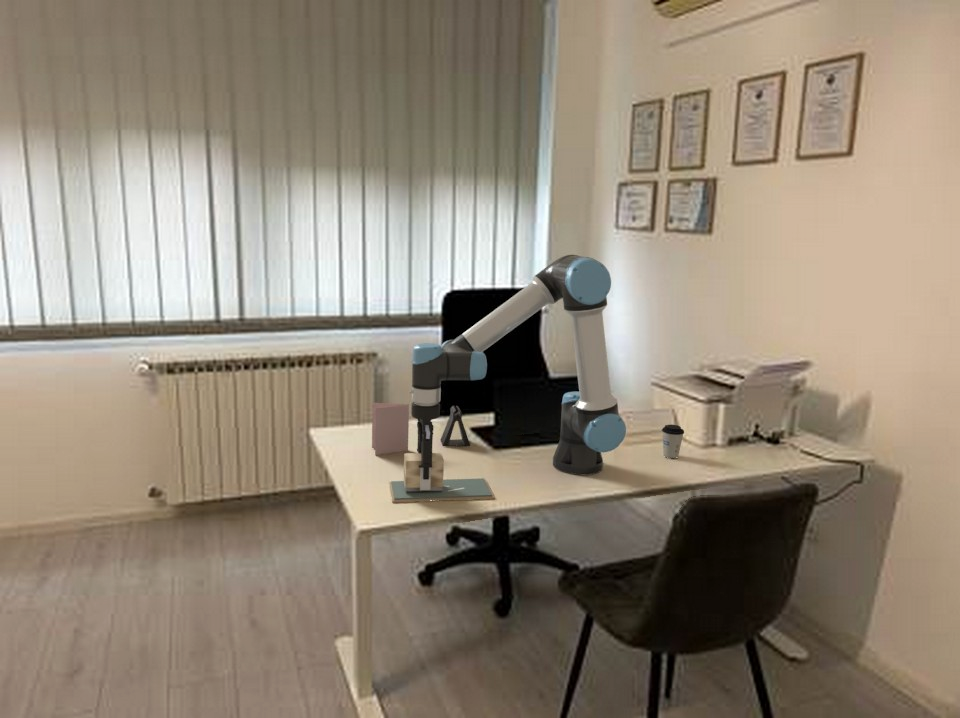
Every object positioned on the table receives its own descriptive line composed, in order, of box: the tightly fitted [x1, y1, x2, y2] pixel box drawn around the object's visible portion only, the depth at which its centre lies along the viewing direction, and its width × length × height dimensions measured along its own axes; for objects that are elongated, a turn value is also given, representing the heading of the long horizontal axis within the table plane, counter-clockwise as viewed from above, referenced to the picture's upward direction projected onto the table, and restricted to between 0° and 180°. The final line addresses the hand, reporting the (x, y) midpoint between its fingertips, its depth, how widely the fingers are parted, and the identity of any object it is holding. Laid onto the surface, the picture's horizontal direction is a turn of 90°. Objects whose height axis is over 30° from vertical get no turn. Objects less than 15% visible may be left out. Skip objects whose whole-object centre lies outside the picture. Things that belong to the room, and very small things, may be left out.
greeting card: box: [371, 402, 410, 456], centre depth 228 cm, size 11×7×15 cm, turn 89°
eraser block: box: [403, 452, 445, 491], centre depth 198 cm, size 10×6×8 cm, turn 100°
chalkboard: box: [388, 477, 495, 504], centre depth 200 cm, size 27×13×1 cm, turn 101°
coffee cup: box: [661, 424, 685, 459], centre depth 234 cm, size 7×7×10 cm
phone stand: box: [440, 405, 471, 447], centre depth 239 cm, size 9×6×12 cm, turn 100°
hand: (423, 484), depth 198 cm, fingers closed on eraser block, 6 cm apart
